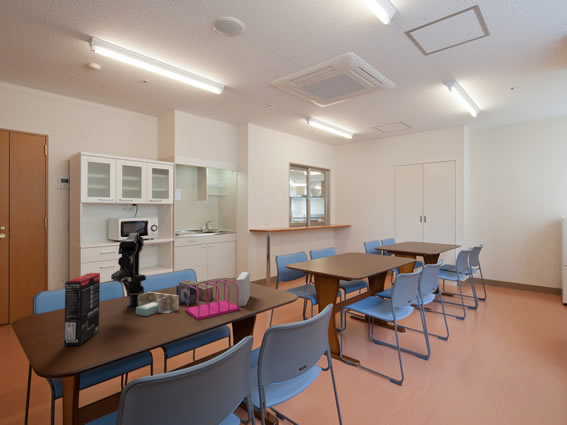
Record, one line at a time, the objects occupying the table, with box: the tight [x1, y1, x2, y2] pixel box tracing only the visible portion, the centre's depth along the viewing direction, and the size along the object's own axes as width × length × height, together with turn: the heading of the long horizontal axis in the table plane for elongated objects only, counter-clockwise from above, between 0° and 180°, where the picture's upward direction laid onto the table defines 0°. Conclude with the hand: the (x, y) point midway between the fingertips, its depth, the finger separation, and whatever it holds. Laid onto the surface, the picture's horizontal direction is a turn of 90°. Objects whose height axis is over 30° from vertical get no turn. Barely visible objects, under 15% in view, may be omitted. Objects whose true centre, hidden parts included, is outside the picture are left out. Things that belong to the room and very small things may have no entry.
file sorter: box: [185, 278, 241, 321], centre depth 170 cm, size 17×25×16 cm
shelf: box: [138, 291, 180, 311], centre depth 172 cm, size 22×8×8 cm, turn 68°
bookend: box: [157, 296, 177, 315], centre depth 169 cm, size 7×7×7 cm
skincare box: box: [235, 271, 251, 307], centre depth 188 cm, size 21×6×16 cm, turn 178°
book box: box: [135, 302, 158, 317], centre depth 168 cm, size 8×12×4 cm, turn 154°
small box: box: [175, 284, 197, 306], centre depth 185 cm, size 11×6×10 cm, turn 68°
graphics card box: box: [63, 272, 101, 347], centre depth 134 cm, size 17×7×27 cm, turn 7°
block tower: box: [178, 279, 214, 302], centre depth 201 cm, size 8×8×29 cm
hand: (128, 293), depth 159 cm, fingers closed
